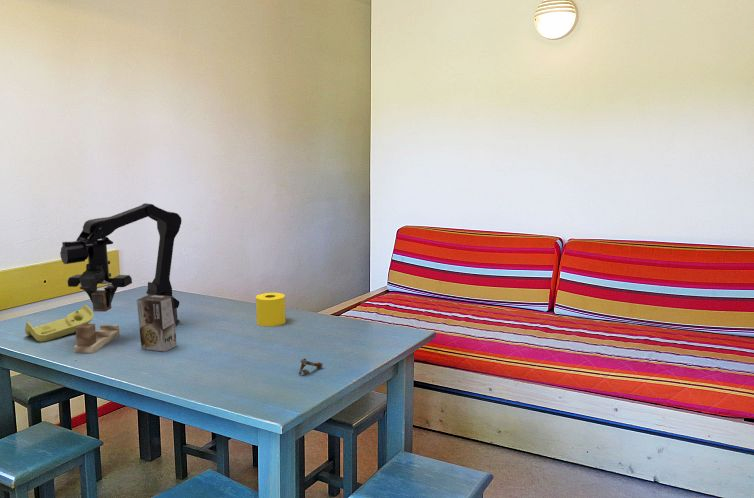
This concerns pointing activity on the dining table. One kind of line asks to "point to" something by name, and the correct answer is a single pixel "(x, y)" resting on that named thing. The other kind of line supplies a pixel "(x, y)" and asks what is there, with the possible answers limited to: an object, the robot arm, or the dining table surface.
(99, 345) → the rail
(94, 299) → the walnut finger
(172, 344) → the coffee box
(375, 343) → the dining table surface
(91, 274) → the robot arm
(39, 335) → the plastic component
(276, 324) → the yellow hollow cylinder
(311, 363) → the brown triangular bracket
